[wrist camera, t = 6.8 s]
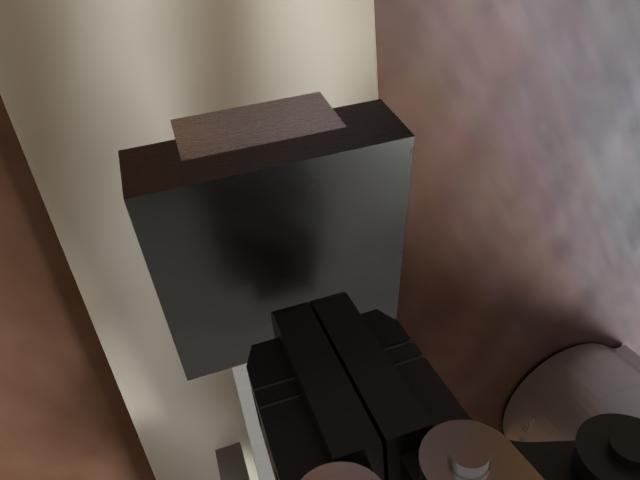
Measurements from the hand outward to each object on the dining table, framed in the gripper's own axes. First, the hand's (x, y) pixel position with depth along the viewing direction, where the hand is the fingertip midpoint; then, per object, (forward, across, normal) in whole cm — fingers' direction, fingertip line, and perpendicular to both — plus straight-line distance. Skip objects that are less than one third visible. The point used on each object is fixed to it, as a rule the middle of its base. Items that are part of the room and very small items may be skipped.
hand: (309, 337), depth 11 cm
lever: (+5, 0, +6) cm, 8 cm away
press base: (+12, 0, +6) cm, 13 cm away
